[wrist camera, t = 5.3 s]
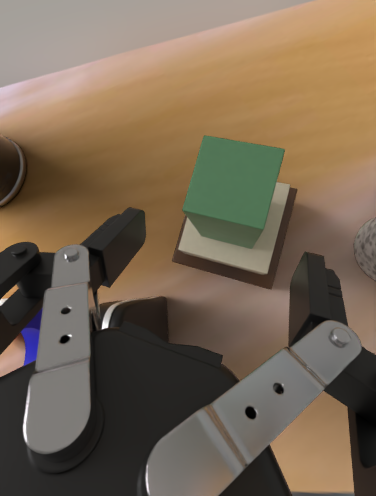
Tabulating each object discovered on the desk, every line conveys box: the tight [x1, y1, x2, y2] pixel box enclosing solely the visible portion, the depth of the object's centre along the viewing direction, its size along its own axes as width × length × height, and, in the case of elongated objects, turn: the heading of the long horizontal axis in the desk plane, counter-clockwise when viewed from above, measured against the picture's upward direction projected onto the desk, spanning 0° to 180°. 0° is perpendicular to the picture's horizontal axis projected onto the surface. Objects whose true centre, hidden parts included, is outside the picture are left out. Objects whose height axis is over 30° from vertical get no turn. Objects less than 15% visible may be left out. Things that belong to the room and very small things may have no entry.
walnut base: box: [172, 188, 297, 289], centre depth 24 cm, size 9×9×4 cm
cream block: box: [178, 182, 290, 275], centre depth 21 cm, size 7×7×3 cm
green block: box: [182, 136, 285, 249], centre depth 16 cm, size 4×4×8 cm
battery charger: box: [99, 296, 169, 343], centre depth 20 cm, size 7×4×11 cm, turn 4°
